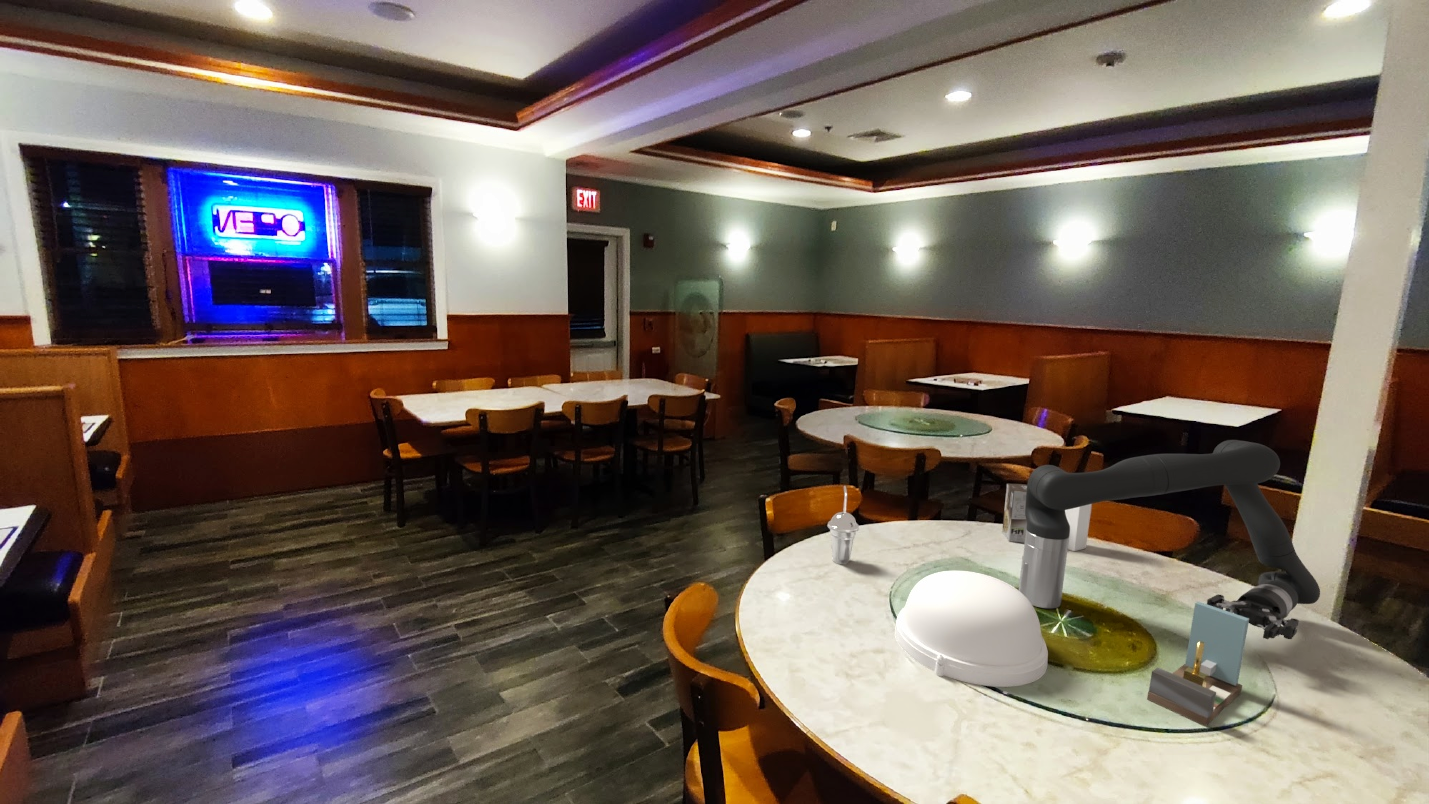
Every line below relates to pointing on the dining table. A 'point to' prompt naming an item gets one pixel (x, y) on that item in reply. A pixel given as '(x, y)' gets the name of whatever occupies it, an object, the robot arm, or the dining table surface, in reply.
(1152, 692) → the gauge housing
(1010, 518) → the coffee box
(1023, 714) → the dining table surface
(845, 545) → the cup with straw
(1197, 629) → the blue-grey rectangular panel
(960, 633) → the dome cover
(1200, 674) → the gold upright bar
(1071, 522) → the milk
